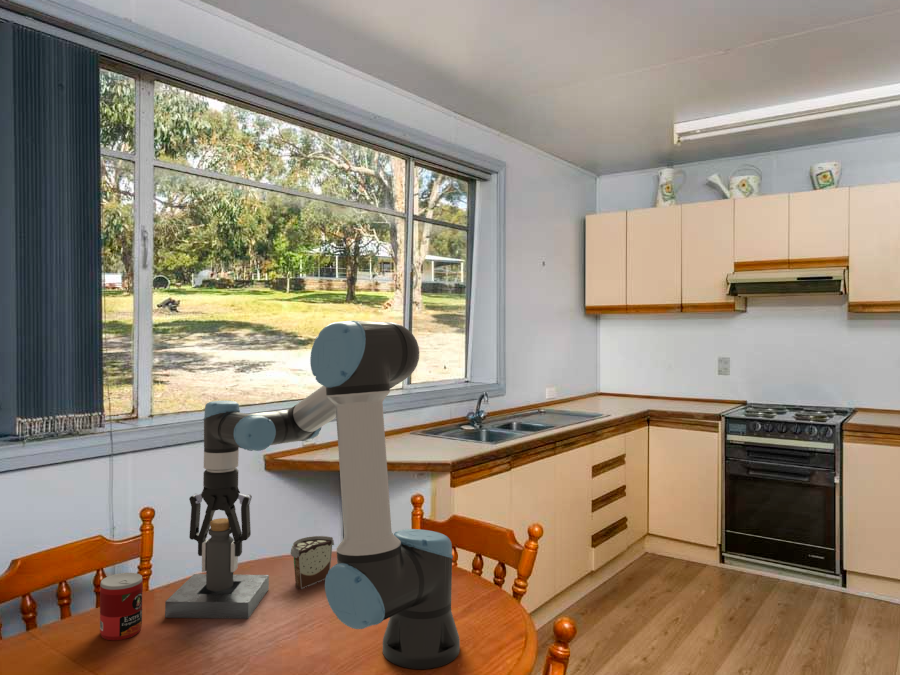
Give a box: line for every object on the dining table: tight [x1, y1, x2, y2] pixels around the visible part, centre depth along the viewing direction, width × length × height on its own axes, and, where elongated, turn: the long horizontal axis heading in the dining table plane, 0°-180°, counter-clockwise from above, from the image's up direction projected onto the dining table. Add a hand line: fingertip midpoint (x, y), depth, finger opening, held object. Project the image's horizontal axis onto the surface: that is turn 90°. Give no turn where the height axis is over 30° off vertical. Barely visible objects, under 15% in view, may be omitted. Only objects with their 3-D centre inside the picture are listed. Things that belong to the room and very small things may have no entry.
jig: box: [164, 573, 270, 620], centre depth 149 cm, size 16×18×4 cm
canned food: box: [99, 572, 143, 641], centre depth 134 cm, size 8×8×11 cm
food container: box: [290, 535, 335, 590], centre depth 163 cm, size 12×6×10 cm, turn 144°
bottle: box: [205, 517, 234, 591], centre depth 149 cm, size 6×6×15 cm
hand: (219, 569), depth 149 cm, fingers closed on bottle, 6 cm apart
